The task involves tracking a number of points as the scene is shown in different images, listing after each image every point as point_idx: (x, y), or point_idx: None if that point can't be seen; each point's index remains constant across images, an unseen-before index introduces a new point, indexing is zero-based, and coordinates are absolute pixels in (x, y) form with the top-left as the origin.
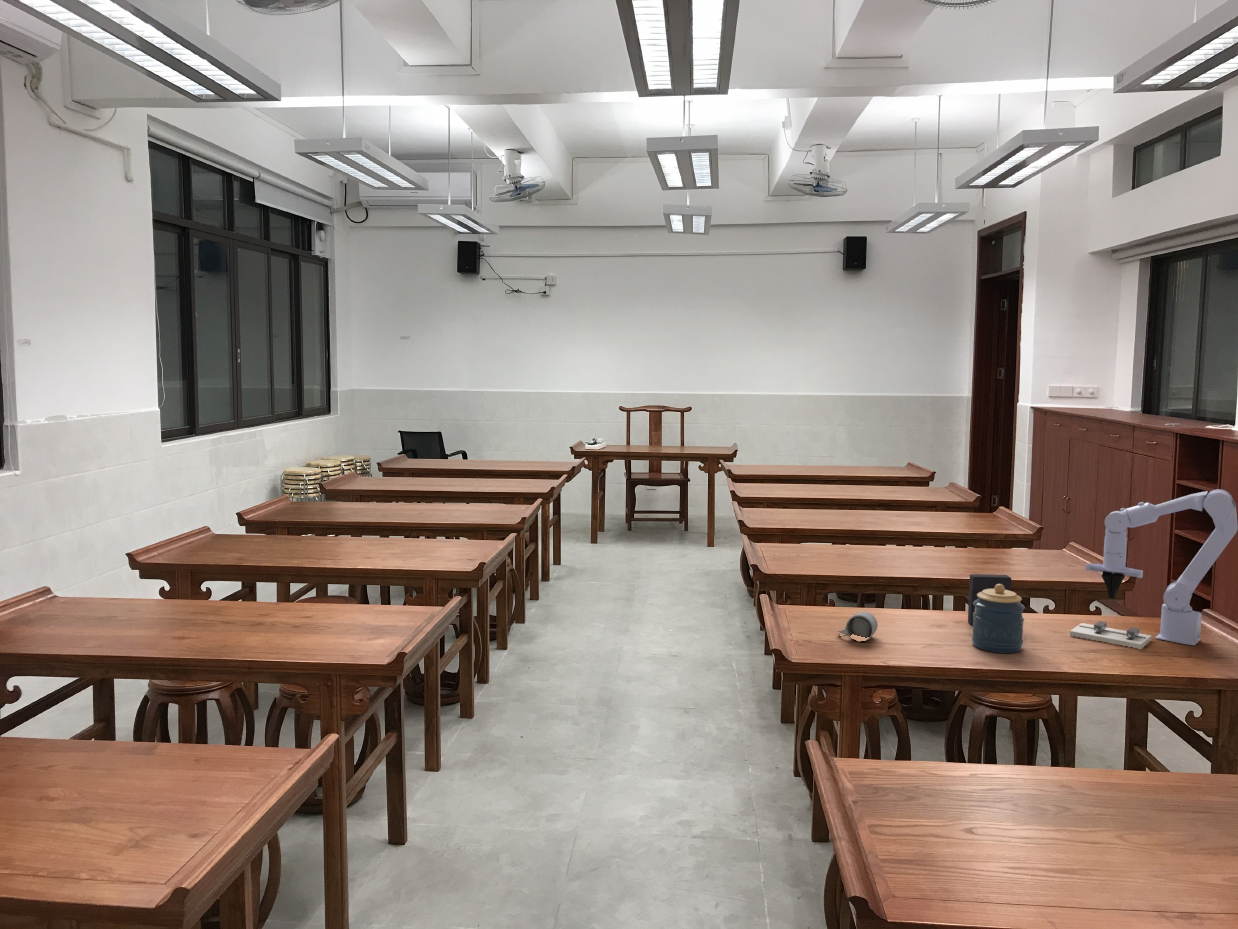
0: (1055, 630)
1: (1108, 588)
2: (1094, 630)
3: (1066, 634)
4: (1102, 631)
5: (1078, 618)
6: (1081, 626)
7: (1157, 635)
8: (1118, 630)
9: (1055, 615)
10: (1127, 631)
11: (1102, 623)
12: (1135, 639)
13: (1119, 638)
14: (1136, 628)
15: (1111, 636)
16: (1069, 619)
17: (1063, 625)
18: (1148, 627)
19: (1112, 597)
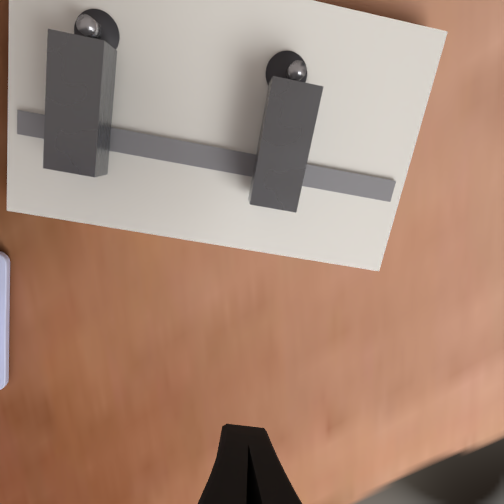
0: (500, 129)
1: (285, 502)
2: None
3: (446, 72)
4: None
5: (383, 428)
6: (382, 177)
7: (4, 296)
8: (184, 220)
9: (481, 422)
10: (100, 40)
11: (273, 161)
12: None
13: (155, 12)
14: (58, 154)
15: (205, 39)
16: (422, 389)
17: (454, 262)
18: (84, 449)
19: (235, 432)
